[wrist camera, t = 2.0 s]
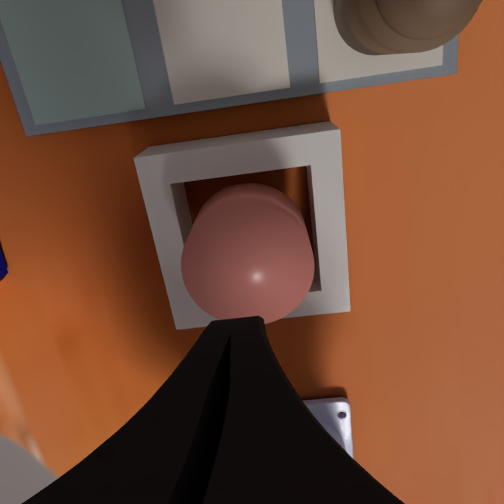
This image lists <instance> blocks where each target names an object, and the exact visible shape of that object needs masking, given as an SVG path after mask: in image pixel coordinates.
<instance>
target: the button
mask: <svg viewBox="0 0 504 504" xmlns="http://www.w3.org/2000/svg"><path fill="white" fill-rule="evenodd" d="M181 273H182V278H183V282H184V285H185V287H186V289H187V291H188V293H189V295H190V296H191V298H192V299H193V300H194V301H195V303H196V304H197V305H198V306H199V307H200V308H201V309H202V310H204V311H205V312H206V313H208V314H209V315H211V316H213V317H214V318H216V319H219V320H223V319H232V318H241V317H250V316H260V317H262V318H263V319H264V323H265V324H267V323H271V322H274V321H276V320H279V319H281V318H283V317H284V316H286V315H288V314H289V313H290V312H292V311H293V310H294V309H295V308H296V307H297V306H299V304H300V303H301V302H302V301H303V300H304V298H305V297H306V295H307V293H308V292H309V289H310V287H311V285H312V281H313V277H314V256H313V252H312V248H311V244H310V240H309V237H308V233H307V229H306V225H305V222H304V219H303V216H302V214H301V212H300V210H299V209H298V207H297V206H296V205H295V203H294V202H293V201H292V200H291V199H290V198H289V197H288V196H286V195H285V194H284V193H282V192H281V191H279V190H277V189H275V188H273V187H270V186H267V185H264V184H259V183H240V184H235V185H231V186H228V187H226V188H224V189H222V190H220V191H218V192H217V193H215V194H214V195H212V196H211V197H210V198H209V199H208V200H207V201H206V202H205V203H204V205H203V206H202V208H201V209H200V211H199V213H198V215H197V217H196V219H195V222H194V224H193V226H192V229H191V231H190V233H189V236H188V238H187V240H186V243H185V245H184V248H183V251H182V256H181Z"/></svg>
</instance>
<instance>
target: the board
mask: <svg viewBox="0 0 504 504" xmlns="http://www.w3.org/2000/svg"><path fill="white" fill-rule="evenodd" d="M457 54H458V35H457V36H455V37H454V38H453V39H452V40H450V41H449V42H447V43H446V44H444V45H442V46H440V47H438V48H435V49H433V50H430V51H425V52H419V53H405V54H389V55H366V54H362V53H359V52H357V51H355V50H354V49H352V48H351V47H350V46H348V45H347V44H346V43H345V42H344V40H343V39H342V37H341V36H340V34H339V32H338V30H337V27H336V24H335V20H334V0H0V61H1V64H2V67H3V70H4V73H5V75H6V78H7V81H8V84H9V87H10V90H11V93H12V96H13V99H14V102H15V105H16V108H17V110H18V113H19V116H20V119H21V122H22V125H23V128H24V131H25V134H26V137H27V136H33V135H40V134H47V133H54V132H61V131H68V130H75V129H81V128H88V127H95V126H102V125H109V124H116V123H122V122H129V121H136V120H143V119H150V118H157V117H163V116H170V115H177V114H184V113H191V112H198V111H204V110H211V109H218V108H225V107H232V106H239V105H245V104H252V103H259V102H266V101H273V100H280V99H286V98H293V97H300V96H307V95H314V94H321V93H327V92H334V91H341V90H348V89H355V88H362V87H368V86H375V85H382V84H389V83H396V82H403V81H409V80H416V79H423V78H430V77H437V76H444V75H451V74H457Z"/></svg>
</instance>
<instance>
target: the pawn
mask: <svg viewBox="0 0 504 504" xmlns="http://www.w3.org/2000/svg"><path fill="white" fill-rule="evenodd" d="M481 2H482V0H334V20H335V24H336V27H337V30H338V32H339V34H340V36H341V37H342V39H343V40H344V42H345V43H346V44H347V45H348V46H350V47H351V48H352V49H354V50H355V51H357V52H359V53H362V54H366V55H389V54H405V53H419V52H425V51H430V50H433V49H435V48H438V47H440V46H442V45H444V44H446V43H447V42H449V41H450V40H452V39H453V38H454V37H455V36H457V35H458V34H459V33H460V32H461V31H462V30H463V29H464V28H465V27H466V26H467V24H468V23H469V22H470V20H471V19H472V17H473V16H474V14H475V13H476V11H477V9H478V7H479V5H480V3H481Z"/></svg>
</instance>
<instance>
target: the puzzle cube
mask: <svg viewBox="0 0 504 504" xmlns="http://www.w3.org/2000/svg"><path fill="white" fill-rule="evenodd" d="M7 273H8V271H7V267H6V264H5V261H4V258H3V255H2V252H1V249H0V281H1V280H2V279H3V278H4V277H5V276H6V275H7Z"/></svg>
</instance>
